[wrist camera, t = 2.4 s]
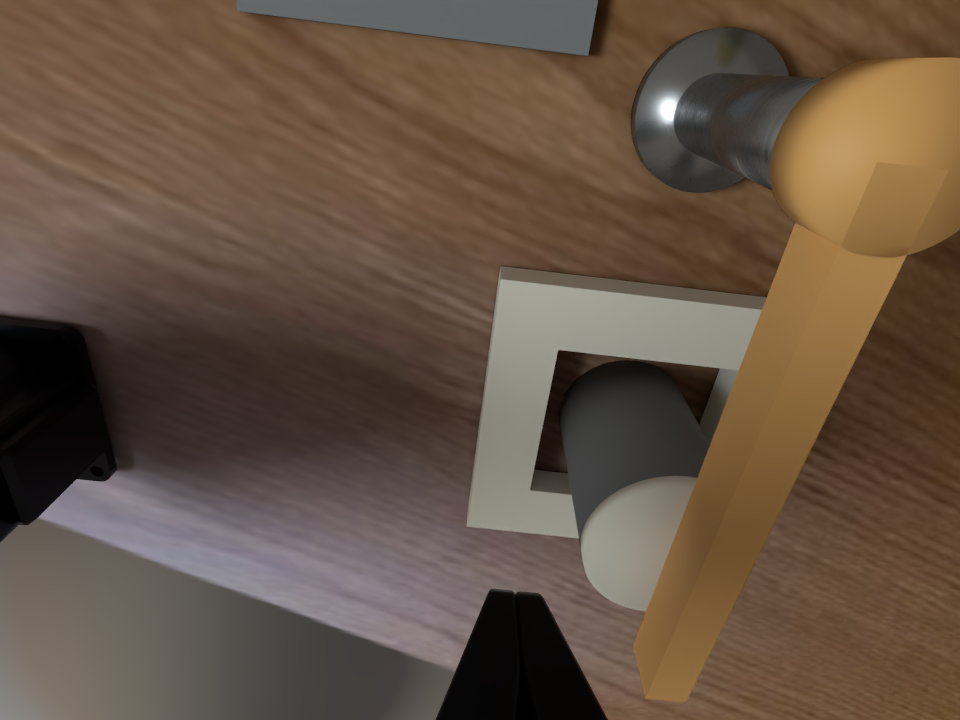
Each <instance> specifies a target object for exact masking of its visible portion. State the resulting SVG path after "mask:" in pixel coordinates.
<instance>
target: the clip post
mask: <svg viewBox="0 0 960 720" xmlns="http://www.w3.org/2000/svg"><path fill="white" fill-rule="evenodd" d="M822 79H824V78H810V77H790V76H789V74H788V70H787V68H786V65H785V63H784V61H783V59H782V57H781V55H780V54H779V52H778V51H777V50H776V49H775V48H774V46H773V45H772V44H770V43H769V42H768V41H767V40H766V39H764V38H763V37H761V36H759V35H758V34H756V33H753V32H751V31H748V30H744V29H740V28H728V27H726V28H716V29H709V30H704V31H700V32H697V33H694V34H692V35H689V36H687V37H685V38H683V39H681V40H679V41H677V42H676V43H675V44H673V45H672V46H670V47H669V48H668V49H667V50H665V51H664V52H663V53H662V54H661V55H660V56H659V57H658V58H657V59H656V60H655V62H654V63H653V64H652V65H651V67H650V68H649V69H648V71H647V72H646V74H645V76H644V77H643V79H642V81H641V83H640V85H639V87H638V90H637V92H636V95H635V99H634V102H633V107H632V113H631V133H632V139H633V144H634V147H635V149H636V152H637V154H638V156H639V158H640V160H641V162H642V163H643V164H644V166H645V167H646V168H647V169H648V170H649V171H650V172H651V173H652V174H653V175H654V176H656V177H657V178H658V179H660V180H661V181H662V182H664V183H665V184H667V185H669V186H671V187H673V188H676V189H679V190H682V191H687V192H697V193H701V192H711V191H716V190H720V189H723V188H726V187H729V186H731V185H733V184H735V183H737V182H739V181H740V180H742V179H744V178H747V179H749V180H751V181H753V182H756V183H758V184H760V185H762V186H764V187H766V188H768V189H770V190H772V187H771V182H770V161H771V154H772V150H773V146H774V143H775V140H776V137H777V135H778V132H779V130H780V128H781V126H782V124H783V123H784V121H785V119H786V117H787V116H788V114H789V113H790V111H791V110H792V109H793V107H794V106H795V105H796V104H797V102H798V101H799V100H800V99H801V98H802V97H803V96H804V95H805V94H806V93H807V92H808V91H809V90H810V89H811V88H812V87H813V86H815V85H816V84H817V83H818V82H820V81H821V80H822Z"/></svg>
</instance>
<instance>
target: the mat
mask: <svg viewBox="0 0 960 720" xmlns="http://www.w3.org/2000/svg"><path fill="white" fill-rule="evenodd" d="M236 1H237V11H241V12H247V13H255V14H262V15H270V16H278V17H286V18H293V19H301V20H309V21H317V22H325V23H332V24H340V25H348V26H356V27H364V28H371V29H379V30H387V31H395V32H403V33H410V34H418V35H426V36H434V37H442V38H449V39H457V40H465V41H473V42H481V43H488V44H496V45H504V46H512V47H520V48H527V49H535V50H543V51H551V52H559V53H566V54H574V55H582V56H588V54H589V49H590V43H591V37H592V32H593V26H594V21H595V15H596V10H597V4H598V0H236Z"/></svg>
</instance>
